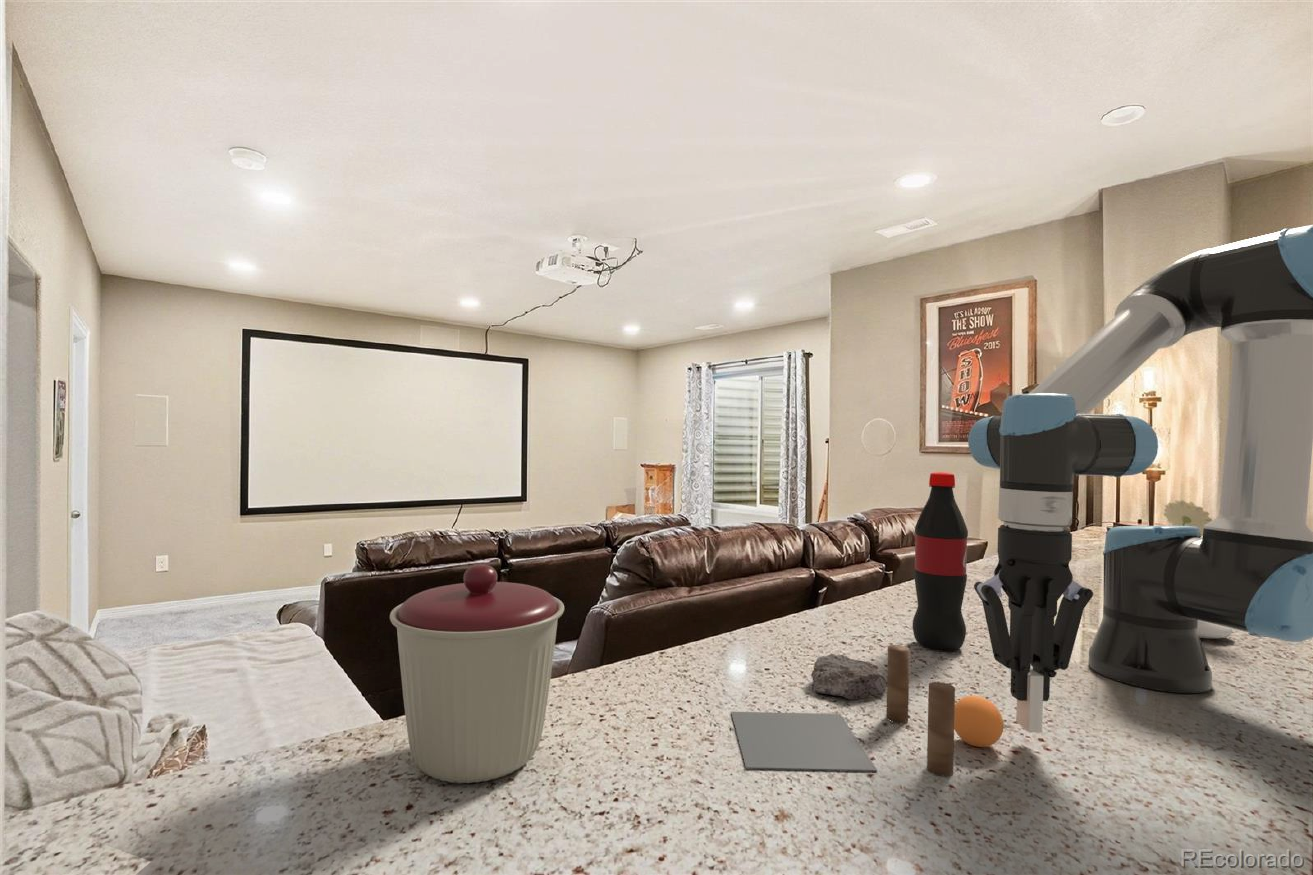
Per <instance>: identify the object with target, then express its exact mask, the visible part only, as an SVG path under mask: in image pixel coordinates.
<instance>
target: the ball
mask: <svg viewBox="0 0 1313 875" xmlns="http://www.w3.org/2000/svg"><path fill="white" fill-rule="evenodd" d="M954 732H955V733H956V734H957V735H958V737H959V738H960V739H961V740H962V741H964V742H965V743H967V744H969V745H971V746H974V747H979V748H985V747H986V748H987V747H990V746H992V745H994V744H995V743H997V742H998V741H999V740H1000V738H1001V737H1002V735H1003V732H1004V719H1003V717H1002V714H1001V712H1000V710H999V709H998V708H997V706H996V705H995V704H994V703H993V702H991V701H990V700H989V699H987V698H985V697H982V696H978V695H968V696H964V697H961V698H960V699H958V701H956V702H955V714H954Z"/></svg>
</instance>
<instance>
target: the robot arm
mask: <svg viewBox="0 0 1313 875" xmlns="http://www.w3.org/2000/svg"><path fill="white" fill-rule="evenodd" d="M1212 328H1213V329H1214V328H1220V335H1221V336H1222V337H1223V338H1225V339H1226V340H1228V341H1229V342H1230V343H1231V344H1232V346H1233V348H1232V358H1231V359H1232V360H1231V372H1230V373H1231V374H1230V383H1229V385H1230V386H1229V395H1228V407H1227V408H1228V409H1227V419H1226V427H1225V428H1226V429H1225V431H1226V432H1225V440H1224V441H1225V442H1224V453H1223V464H1222V475H1221V486H1220V498H1219V499H1220V500H1219V509H1218V510H1219V511H1218V515H1217V517H1216V518H1214V519H1212V521H1211V522H1209V523H1207V524H1206V525H1204V528H1203V536H1202V535H1201V533H1200V531H1199V528H1197V527H1195V526H1194V527H1193V526H1172V525H1126V526H1125V525H1123V526H1121V525H1120V526H1119V525H1118V526H1114V527H1112V528H1110V529H1108V531H1107V532H1106V534H1105V541H1104V549H1103V551H1102V556H1103V585H1102V586H1103V587H1102V588H1103V593H1102V594H1103V599H1102V601H1103V604H1102V605H1103V606H1102V609H1103V610H1102V620H1101V622H1100V623H1099V626H1098V629H1097V631H1096V633H1095V636H1094V637H1093V638H1094V639H1093V641H1092V644H1091V646H1090V647H1089V650H1088V666H1089V667H1090V668H1091V669H1092V670H1093V671H1095V672H1096V673H1098V674H1100V675H1102V676H1104V677H1107V678H1108V679H1111V678H1112V680H1115V681H1118V682H1121V683H1123V682H1124V684H1128V685H1131V686H1135V687H1139V688H1143V687H1144V688H1145V689H1148V690H1153V691H1154V690H1155V691H1161V692H1166V691H1168V693H1176V694H1177V693H1178V694H1199V693H1200V694H1201V693H1205V692H1206V693H1207V692H1208V691H1210V690H1211V689H1212V687H1213V685H1212V684H1213V672H1212V669H1211V667H1210V665H1209V662H1208V658H1207V655H1206V652H1205V649H1204V647H1203V644H1202V641H1201V638H1199V635H1198V628H1197V626H1198V620H1201V621H1205V622H1209V623H1213V624H1217V625H1221V626H1225V627H1229V628H1231V629H1233V630H1237V631H1241V632H1244V633H1245V632H1246V633H1249V634H1251V635H1252V636H1254V637H1258V638H1270V639H1273V640H1274V639H1275V640H1279V641H1283V642H1289V643H1290V642H1292V643H1300V642H1304V641H1305V642H1306V641H1307V640H1310V639H1313V531H1312V529H1310V528H1309V527H1308V525H1307V517H1308V516H1307V515H1308V505H1309V504H1308V503H1309V492H1310V491H1309V490H1310V480H1311V466H1312V457H1313V456H1312V455H1313V224H1311V225H1310V224H1308V225H1304V226H1300V227H1299V226H1298V227H1288V228H1283V229H1282V230H1281V231H1277V232H1273V233H1269V234H1264V235H1260V236H1257V237H1252V238H1248V239H1243V240H1239V241H1235V242H1232V243H1227V244H1224V245H1219V246H1216V247H1209V248H1205V249H1202V250H1198V251H1196V252H1193V253H1190V254H1188V255H1186V256H1185V257H1182V258H1180V259H1178V260H1176V261H1175V262H1173V263H1171V264H1170V265H1168V266H1166V267H1165V268H1162V269H1161V270H1160V271H1159V272H1157V273H1156V274H1153V276H1151V277H1150V278H1148V279H1147V280H1146V281H1144V282H1143V283H1141V284H1140V285H1139V286H1138V287H1136V288H1135V289H1134V290H1133V291H1132V292H1130V294H1128V295H1127V296H1126V297H1125V298H1124V299H1122V301H1120V303H1119V304H1118V305H1117V307H1116V308H1115V312H1114V317H1113V318H1112V319H1111V320H1109V321H1108V322H1107V323H1106V324H1105V325H1104V326H1103V327H1102V328H1100V329H1099V330H1098V331H1097V332H1096V333H1095V334H1093V336H1091V337H1090V338H1089V339H1088V340H1087V341H1086V342H1085V343H1084V344H1083V345H1082V346H1081V347H1079V348H1078V349H1076V351H1075V352H1074V353H1073V354H1071V356H1069V357H1068V358H1067V359H1066V360H1065V361H1064V362H1062V363H1061V364H1060V365H1059V366H1058V367H1057V368H1056V369H1054V371H1052V372H1051V373H1050V374H1049V375H1048V376H1047V377H1045V379H1043V380H1042V381H1041V382H1040V383H1039V384H1038V385H1037V386H1035V388H1033V389H1032V390H1031V391H1030V392H1029V393H1022V394H1021V393H1019V394H1013V395H1010V396H1008V397H1007V398H1005V399H1004V401H1003V402H1002V408H1001V409H1002V412H1001V416H1000V415H992V416H990V417H983V418H981V419H979V420H977V421H976V422H975V423H974V424H973V425H972V427H971V428H970V430H969V434H968V438H967V439H968V440H967V446H968V449H969V452H970V454H971V457H973V459H974V461H976V463H977V464H979V465H981V466H983V467H985V468H991V469H998V470H999V489H998V511H997V512H998V515H997V516H998V517H997V518H998V519H999V520H1000V521H1001V522H1003V524H1001V525H999V527H998V528H997V551H996V552H997V557H998V563H997V565H996V567H995V568H994V572H993V575H994V576H992V577H990V578H989V579H986V580H985V581H983V582H982V581H976V582H975V583H974V585H973V588H974V590H975V592H976V594H977V595H978V597H979V598H980V600H981V602H982V607H983V611H984V616H985V620H986V626H987V631H988V634H989V635H988V636H989V640H990V644H991V645H990V646H991V650H992V654H993V655H992V656H993V658H994V660H995V661H996V662H998V663H999V664H1000V665H1003V666H1004V667H1005V668H1007V669H1008V670H1009V669H1010V694H1011V697H1013V698H1015V699H1016V713H1015V714H1016V717H1015V718H1016V720H1015V722H1016V723H1017V724H1018V725H1019V726H1021V727H1022V728H1023V729H1025V731H1027V732H1028V733H1043V714H1044V713H1043V711H1044V710H1043V709H1044V702H1048V701H1049V699H1050V688H1051V678H1055V677H1056V676H1057V673H1058V670H1062V671H1065V670H1067V669H1068V667H1069V665H1070V661H1071V657H1072V654H1073V650H1074V646H1075V642H1076V639H1077V635H1078V632H1079V628H1080V625H1081V624H1080V623H1081V622H1082V621H1081V620H1082V617H1083V613H1084V610H1085V608H1086V606H1087V605H1088V604H1089V602H1090V600H1092V598H1093V596H1094V592H1093V590H1092V589H1091V588H1088V587H1086V586H1083V585H1081V584H1079V583H1078V582H1077V581H1075V580H1074V578H1073V577H1074V576H1073V573H1072V571H1071V569H1070V565H1069V564H1070V562H1071V560H1072V552H1073V551H1072V549H1073V533H1071V531H1070V530H1068V529H1066V527H1069V526H1071V525H1072V524H1073V500H1074V495H1073V494H1074V493H1073V491H1074V479H1075V478H1074V477H1075V476H1090V477H1093V476H1095V477H1099V476H1100V477H1114V478H1121V477H1124V476H1135V475H1138V474H1141V473H1143V472H1144V471H1146V470H1147V469H1149V468H1150V467H1151V466H1152V464H1154V462H1155V460H1156V458H1157V455H1158V451H1159V443H1158V442H1159V440H1158V436H1157V433H1156V431H1155V430H1154V429H1153V428H1152V426H1151V425H1150V424H1149V423H1148V422H1146V420H1143V419H1142V418H1139V417H1136V416H1131V415H1124V414H1122V413H1116V414H1115V413H1114V414H1107V413H1106V414H1105V413H1091V412H1092V411H1094V410H1095V409H1096V408H1097V407H1098V406H1099V405H1100V404H1101V403H1102V402H1103V401H1105V400H1106V399H1107V398H1108V397H1109V396H1110V395H1111V394H1112V393H1113V392H1114V391H1115V390H1116V389H1118V388H1119V386H1120V385H1122V384H1123V383H1124V382H1125V381H1126V380H1127V379H1129V377H1130V376H1132V375H1133V373H1135V372H1136V371H1137V370H1138V369H1139V368H1140V367H1141V366H1142V365H1143V364H1144V363H1145V362H1147V361H1148V360H1149V359H1150V358H1151V357H1153V355H1154V354H1155V353H1156V352H1157V351H1158V350H1160V349H1161V350H1162V349H1166V348H1169V347H1172V346H1173V345H1175V344H1177V343H1178V342H1179V341H1180V340H1181V339H1183V337H1185V336H1188V335H1190V334H1192V333H1196V332H1199V331H1203V330H1207V329H1208V330H1209V329H1212ZM1001 589H1002V590H1003V592H1004V593H1005V595H1006V596H1007V597H1008V602H1007V605H1008V606H1007V607H1008V609H1009V612H1010V614H1009V628H1008V624H1007V619H1006V613H1005V608H1004V605H1003V603H1002V602H1003V601H1002V600H1001V597H1002V596H1003V593H1002V590H1001ZM1062 595H1063V597H1062ZM1061 597H1062V598H1061ZM1060 598H1061V600H1060V602H1059V606H1058V601H1059V599H1060ZM1031 667H1032V668H1031ZM1144 688H1143V689H1144ZM1169 691H1170V692H1169Z"/></svg>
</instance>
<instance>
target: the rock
mask: <svg viewBox="0 0 1313 875" xmlns="http://www.w3.org/2000/svg"><path fill="white" fill-rule="evenodd" d="M813 664H814V666H813V670H812V672H811V677H812V683H813V685H812V686H813V690H814V692H815V693H819V694H822V695H824V694H825V695H828V696H835V697H836V696H837V697H844V698H845V699H846V700H852V701H854V700H858V699H863V698H862V697H864V698H865V699H867V698H870V697H869V696H874V697H878V695H879V696H882V695H883V694H884V693H885V692H887V677H885V676H884V674H883V673H882V672H881V671H880V670H879V667H878V666H877V665H875V664H873V663H871V662H869V661H865V660H858V659H855V658H854V659H853V658H850V657H847V655H844V654H839V655H837V654H834V653H831V654H828V655H824V656H823V655H822V656H819V657H817V658H816V661H815V662H814V663H813Z"/></svg>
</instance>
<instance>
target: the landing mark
mask: <svg viewBox="0 0 1313 875" xmlns="http://www.w3.org/2000/svg"><path fill="white" fill-rule="evenodd" d="M731 716H732V717H733V718H732V721H734V722H733V725H735V726H734V728H736V729H735V733H736V732H737V733H736V736H737V740H739V741H738V743H739V744H740V745H739V744H738V745H739V747H741V748H740V751H742V752H741V755H743V756H742V760H743V759H744V760H743V763H745V764H744V767H745V770H761V769H774V770H773V771H776V769H779V770H778V771H809V770H826V771H825V772H856V771H877V772H878V769H877V768H876V766H875V765H874V763H873V761H872V760H871V758H870V757H869V755H868V754H867V751H865V748H863V746H862V744H861V743H860V742H859V740H858V739H857V737H856V735H855V734H854V732H853V731H852V729H851V727H850V726H849V725H848V723H847V721H846V720H845V719H844V717H843V716H842V714H841V713H814V712H813V713H812V712H810V713H808V712H771V711H770V712H769V711H768V712H767V711H766V712H765V711H764V712H763V711H762V712H761V711H760V712H759V711H758V712H757V711H731ZM828 770H829V771H828ZM832 770H833V771H832ZM836 770H837V771H836ZM840 770H842V771H840ZM844 770H846V771H844Z"/></svg>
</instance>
